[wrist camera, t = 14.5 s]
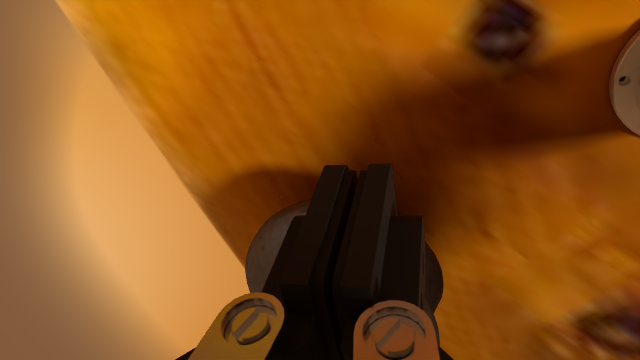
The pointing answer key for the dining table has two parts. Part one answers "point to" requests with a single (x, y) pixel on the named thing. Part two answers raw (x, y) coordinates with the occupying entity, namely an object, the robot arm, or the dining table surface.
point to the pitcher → (273, 236)
